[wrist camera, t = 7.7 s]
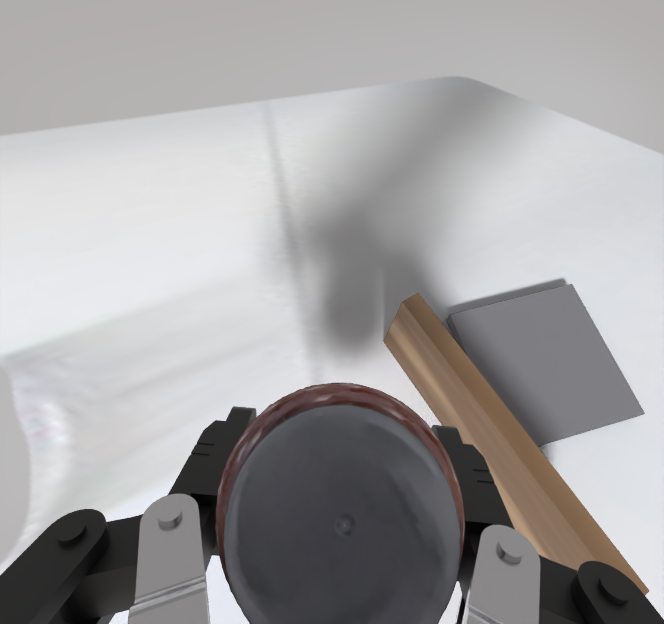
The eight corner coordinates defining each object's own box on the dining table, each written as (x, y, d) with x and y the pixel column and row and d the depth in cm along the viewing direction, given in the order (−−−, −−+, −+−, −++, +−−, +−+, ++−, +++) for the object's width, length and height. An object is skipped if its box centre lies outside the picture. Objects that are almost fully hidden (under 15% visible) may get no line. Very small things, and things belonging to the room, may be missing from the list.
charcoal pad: (564, 288, 32) (571, 283, 31) (634, 415, 28) (645, 414, 27) (446, 318, 31) (450, 314, 30) (502, 455, 27) (508, 455, 26)
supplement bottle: (333, 390, 18) (339, 289, 8) (430, 481, 17) (601, 513, 6) (241, 488, 16) (87, 530, 6) (339, 599, 15) (361, 919, 4)
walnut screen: (395, 334, 30) (418, 292, 23) (552, 552, 25) (649, 590, 17) (383, 341, 30) (402, 302, 23) (539, 563, 24) (631, 607, 17)
